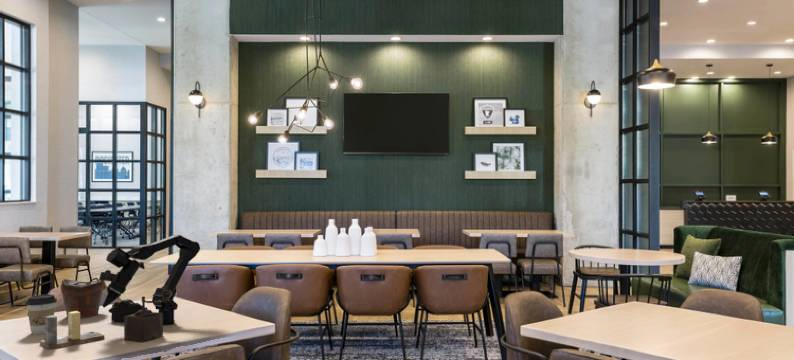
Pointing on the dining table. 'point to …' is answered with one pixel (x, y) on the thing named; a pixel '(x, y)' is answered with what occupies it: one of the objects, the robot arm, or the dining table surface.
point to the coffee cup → (40, 311)
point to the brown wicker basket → (82, 296)
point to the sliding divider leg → (74, 325)
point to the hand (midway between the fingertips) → (103, 307)
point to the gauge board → (54, 342)
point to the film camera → (124, 310)
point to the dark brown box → (145, 322)
